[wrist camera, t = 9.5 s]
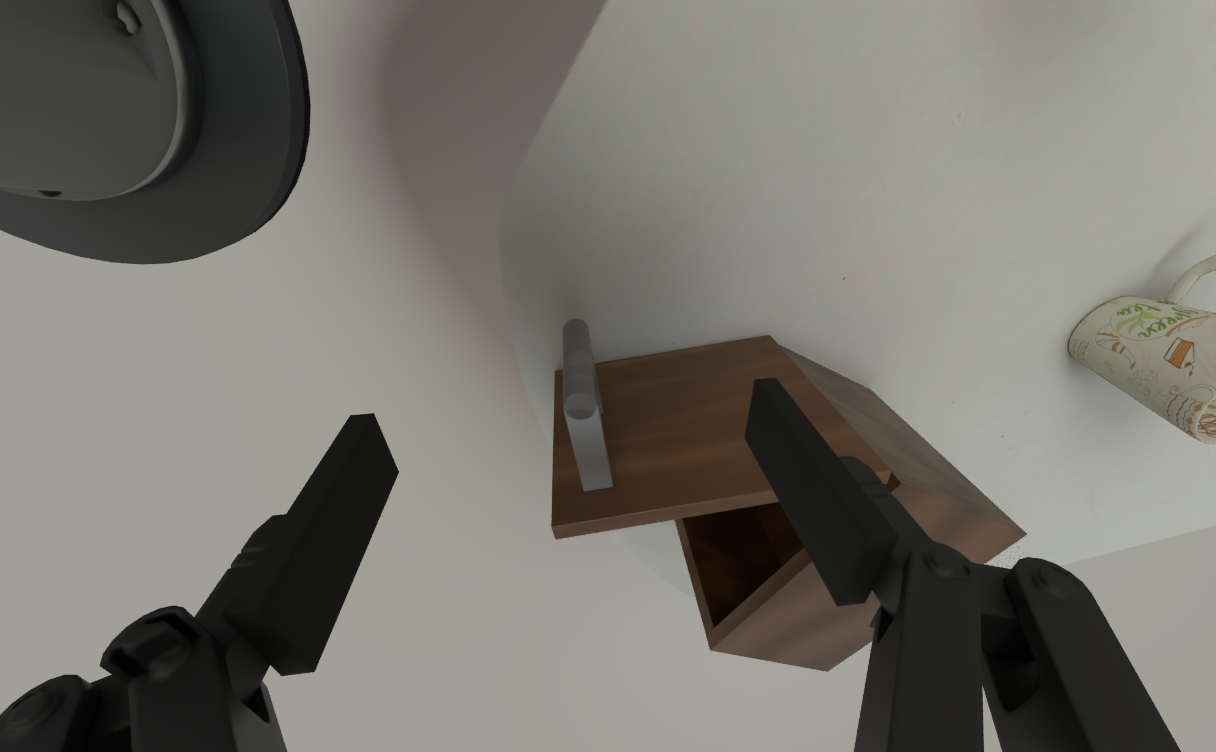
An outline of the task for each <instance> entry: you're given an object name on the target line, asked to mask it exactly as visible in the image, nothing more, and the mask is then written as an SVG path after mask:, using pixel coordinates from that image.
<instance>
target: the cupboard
mask: <svg viewBox="0 0 1216 752" xmlns="http://www.w3.org/2000/svg"><path fill="white" fill-rule="evenodd" d="M779 346H780V345H779ZM780 347H781V348H782V349H783V350H784V352H785V353H786V354H787V355H788V356H789V357H790V358H791V359H792V360H793V362H794V363H795V364H796V365H797V366H798V367H799V368H800V369H801V370H802V371H803V373H804V374H805V375H806V376H807V377H808V378H809V379H810V380H811V381H812V383H813V384H814V385H815V386H816V387H817V388H818V389H819V390H820V391H821V393H822V394H823V395H824V396H825V397H826V398H827V399H828V400H829V401H830V402H831V404H832V405H833V406H834V407H835V408H836V409H837V410H838V411H839V412H840V414H841V415H842V416H843V417H844V418H845V419H846V420H847V421H848V422H849V423H850V425H851V426H852V427H853V428H854V429H855V430H856V431H857V432H858V433H859V435H860V436H861V437H862V438H863V439H864V440H865V441H866V442H867V443H868V444H869V446H870V447H871V448H872V449H873V450H874V451H875V452H876V453H877V454H878V456H879V457H880V458H881V459H882V460H883V461H884V462H885V463H886V464H887V466H888V467H889V468H890V469H891V473H890V477H889V480H888V483H887V484H885V485H886V487H887V488H888V489H889V490H890V491H891V494H892V495H894V496H895V497H896V498H897V500H898V501H899V502H900V503H901V504H902V505H903V507H904V508H905V509H906V510H907V511H908V513H909V514H910V515H911V516H912V517H913V518H914V520H915V521H916V522H917V523H918V524H919V526H920V527H921V528H922V529H923V530H924V531H925V533H926V534H927V535H928V536H929V537H930V538H931V539H932V540H933V541H935V542H938V543H942V544H946V545H948V546H949V547H951V548H953V549H955V550H957V551H959V552H960V553H961V554H962V555H964V556H965V557H966V558H967V559H969V560H970V562H973V563H978V564H985V563H986V562H988V561H989V560H991V559H992V558H993V557H995V556H996V555H998V554H999V553H1001V552H1002V551H1004V550H1005V549H1007V548H1008V547H1009V546H1011V545H1012V544H1014V543H1015V542H1017V541H1018V540H1020V539H1021V538H1023V537H1024V536H1026V535H1027V533H1025V532H1024V531H1023V530H1022V529H1021V528H1020V527H1019V526H1018V525H1017V524H1016V523H1015V522H1014V521H1012V520H1011V519H1010V518H1009V517H1008V516H1007V515H1006V514H1005V513H1004V512H1003V511H1002V510H1001V509H999V508H998V507H997V506H996V505H995V504H994V503H993V502H992V501H991V500H990V499H989V498H988V497H986V496H985V495H984V494H983V493H982V492H981V491H980V490H979V489H978V488H977V487H976V486H974V485H973V484H972V483H971V482H970V481H969V480H968V479H967V478H966V477H965V476H964V475H963V474H961V473H960V472H959V471H958V470H957V469H956V468H955V467H954V466H953V465H952V464H951V463H950V462H948V461H947V460H946V459H945V458H944V457H943V456H942V455H941V454H940V453H939V452H938V451H937V450H935V449H934V448H933V447H932V446H931V445H930V444H929V443H928V442H927V441H926V440H925V439H924V438H922V437H921V436H920V435H919V434H918V433H917V432H916V431H915V430H914V429H913V428H912V427H910V426H909V425H908V424H907V423H906V422H905V421H904V420H903V419H902V418H901V417H900V416H899V415H897V414H896V413H895V412H894V411H893V410H892V409H891V408H890V407H889V406H888V405H887V404H886V403H884V402H883V401H882V400H881V399H880V398H879V397H878V396H877V395H876V394H875V393H874V392H873V391H871V390H870V389H868V388H866V387H864V386H861V385H859V384H857V383H855V382H853V381H851V380H849V379H847V378H845V377H843V376H841V375H839V374H837V373H835V372H833V371H831V370H829V369H827V368H825V367H823V366H821V365H819V364H817V363H815V362H813V361H811V360H809V359H807V358H805V357H803V356H801V355H798V354H796V353H794V352H792V351H790V350H788V349H786V348H784V347H782V346H780ZM675 523H676V527H677V530H678V534H679V537H680V541H681V545H682V548H683V552H684V556H685V559H686V563H687V567H688V570H689V574H690V578H691V581H692V585H693V589H694V592H695V596H696V600H697V603H698V607H699V611H700V614H701V618H702V622H703V625H704V629H705V633H706V637H707V641H708V644H709V648H710V650H712V651H717V652H723V653H728V654H733V655H739V656H744V657H750V658H755V659H761V660H766V661H773V662H778V663H783V664H788V665H794V666H800V667H805V668H811V669H816V670H821V671H829V670H831V669H832V668H833V667H835V666H836V665H838V664H839V663H841V662H842V661H844V660H845V659H846V658H848V657H849V656H851V655H852V654H854V653H855V652H857V651H858V650H860V649H861V648H863V647H864V646H865V645H867V644H868V643H870V642H871V641H873V635H874V630H875V627H874V629H873V628H871V627H869V625H870V623H871V621H872V619H873V617H874V616H875V614H876V612H877V610H878V609H879V607H880V605H881V603H880V601H879V600H878V598H877V597H876V595H875V594H874V592H873V590H872V591H871V593H870V595H869V597H868V599H867V601H866V603H863V604H855V605H847V606H839V607H837V606H836V604H835V602H834V600H833V599H832V597H831V595H830V593H829V591H828V589H827V588H826V586H825V584H824V582H823V580H822V579H821V577H820V575H819V573H818V571H817V569H816V568H815V566H814V564H813V562H812V560H811V559H810V557H809V555H808V553H807V551H806V549H805V548H804V546H803V544H802V542H801V540H800V539H799V537H798V535H797V533H796V531H795V529H794V528H793V526H792V524H791V522H790V520H789V519H788V517H787V515H786V513H785V511H784V509H783V508H782V506H781V504H780V502H775V503H769V504H763V505H757V506H752V507H746V508H740V509H734V510H728V511H722V512H716V513H710V514H704V515H698V516H692V517H686V518H680V519H675Z"/></svg>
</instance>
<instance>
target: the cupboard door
mask: <svg viewBox="0 0 1216 752" xmlns="http://www.w3.org/2000/svg"><path fill="white" fill-rule="evenodd" d="M774 377H776V378H777V380H778V381H779V382H780V383H781V385H782V386H783V387H784V389H785V390H786V391H787V392H788V394H789V395H790V396H791V398H792V399H793V400H794V401H795V403H796V404H797V405H798V406H799V408H800V409H801V410H802V412H803V413H804V414H805V415H806V417H807V418H808V419H809V421H810V422H811V423H812V424H813V426H814V427H815V428H816V429H817V431H818V432H819V433H820V435H821V436H822V437H823V438H824V440H825V441H826V442H827V444H828V445H829V446H830V447H831V449H832V450H833V451H834V452H835V454H836V455H837V456H838V457H841V456H851V455H853V456H855V457H856V458H858V459H859V460H860V461H862V462H863V463H865V464H866V465H868V466H869V467H870V468H871V469H872V470H873V471H874V472H875V474H876V475H877V476H878V477H879V478H880V479H881V481H882V484H887V483H888V480H889V477H890V473H891V469H890V468H889V467H888V466H887V464H886V463H885V462H884V461H883V460H882V459H881V458H880V457H879V456H878V454H877V453H876V452H875V451H874V450H873V449H872V448H871V447H870V446H869V444H868V443H867V442H866V441H865V440H864V439H863V438H862V437H861V436H860V435H859V433H858V432H857V431H856V430H855V429H854V428H853V427H852V426H851V425H850V423H849V422H848V421H847V420H846V419H845V418H844V417H843V416H842V415H841V414H840V412H839V411H838V410H837V409H836V408H835V407H834V406H833V405H832V404H831V402H830V401H829V400H828V399H827V398H826V397H825V396H824V395H823V394H822V393H821V391H820V390H819V389H818V388H817V387H816V386H815V385H814V384H813V383H812V381H811V380H810V379H809V378H808V377H807V376H806V375H805V374H804V373H803V371H802V370H801V369H800V368H799V367H798V366H797V365H796V364H795V363H794V362H793V360H792V359H791V358H790V357H789V356H788V355H787V354H786V353H785V352H784V350H783V349H782V348H781V347H780V346H779V345H778V344H777V343H776V342H775V341H774V339H773V338H772V337H771V336H770V335H769V336H763V337H757V338H751V339H745V340H739V341H733V342H727V343H721V344H715V345H709V346H703V347H697V348H691V349H685V350H679V351H673V352H667V353H661V354H655V355H649V356H643V357H637V358H631V359H625V360H619V361H613V362H607V363H601V364H595V361H594V356H593V350H592V345H591V339H590V334H589V328H588V326H587V324H586V323H585V322H584V321H582V320H580V319H572V320H569V321H568V322H566V323H565V325H564V327H563V370H559V371H555V392H554V436H553V480H552V523H551V527H552V531H553V533H554V536H555V539H562V538H567V537H574V536H579V535H585V534H591V533H597V532H602V531H609V530H615V529H621V528H627V527H633V526H639V525H645V524H651V523H657V522H663V521H668V520H674V519H680V518H686V517H692V516H698V515H704V514H710V513H716V512H722V511H728V510H734V509H740V508H746V507H752V506H757V505H763V504H769V503H775V502H779V500H778V499H777V497H776V495H775V493H774V491H773V489H772V488H771V486H770V484H769V482H768V480H767V479H766V477H765V475H764V473H763V471H762V469H761V468H760V466H759V464H758V462H757V460H756V459H755V457H754V455H753V453H752V451H751V449H750V448H749V446H748V444H747V442H746V440H745V439H744V437H745V431H746V426H747V420H748V414H749V409H750V403H751V397H752V392H753V386H754V380H755V379H763V378H774Z"/></svg>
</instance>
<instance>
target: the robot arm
mask: <svg viewBox="0 0 1216 752" xmlns="http://www.w3.org/2000/svg"><path fill="white" fill-rule="evenodd" d="M203 111H204V89H203V79H202V72H201V66H200V61H199V57H198V53H197V49H196V45H195V42H194V39H193V36H192V33H191V30H190V27H189V25H188V22H187V20H186V17H185V15H184V12H183V10H182V7H181V5H180V3H179V1H178V0H0V190H1V191H5V192H9V193H14V194H19V195H24V196H31V197H37V198H46V199H55V200H68V201H90V200H98V199H105V198H110V197H115V196H120V195H125V194H130V193H134V192H138V191H142V190H145V189H148V188H151V187H153V186H156V185H158V184H159V183H161V182H163V181H165V180H167V179H168V178H169V177H171V176H172V175H173V174H174V173H176V172H177V171H178V170H179V169H180V168H181V167H182V165H183V164H184V163H185V162H186V160H187V159H188V157H189V156H190V155H191V153H192V151H193V149H194V147H195V145H196V143H197V140H198V136H199V133H200V130H201V125H202V120H203ZM744 439H745V440H746V442H747V444H748V446H749V448H750V449H751V451H752V453H753V455H754V457H755V459H756V460H757V462H758V464H759V466H760V468H761V469H762V471H763V473H764V475H765V477H766V479H767V480H768V482H769V484H770V486H771V488H772V489H773V491H774V493H775V495H776V497H777V499H778V500H779V502H780V504H781V506H782V508H783V509H784V511H785V513H786V515H787V517H788V519H789V520H790V522H791V524H792V526H793V528H794V529H795V531H796V533H797V535H798V537H799V539H800V540H801V542H802V544H803V546H804V548H805V549H806V551H807V553H808V555H809V557H810V559H811V560H812V562H813V564H814V566H815V568H816V569H817V571H818V573H819V575H820V577H821V579H822V580H823V582H824V584H825V586H826V588H827V589H828V591H829V593H830V595H831V597H832V599H833V600H834V602H835V604H836V606H837V607H839V606H847V605H855V604H863V603H866V601H867V599H868V597H869V595H870V593H871V591H872V590H873V592H874V594H875V595H876V597H877V598H878V600H879V601H880V603H881V605H880V607H879V609H878V610H877V612H876V614H875V616H874V617H873V619H872V621H871V623H870V625H869V627H871V628H873V629H874V627H875V630H874V635H873V641H872V647H871V653H870V659H869V665H868V671H867V678H866V683H865V689H864V695H863V701H862V706H861V712H860V718H859V724H858V730H857V736H856V742H855V748H854V752H984V738H983V699H982V698H983V694H982V685H983V688H984V691H985V695H986V698H987V701H988V705H989V708H990V712H991V714H992V718H993V722H994V725H995V728H996V732H997V735H998V738H999V742H1000V745H1001V749H1002V752H1181V751H1180V749H1179V747H1178V746H1177V744H1176V742H1175V740H1174V738H1173V737H1172V735H1171V733H1170V731H1169V730H1168V728H1167V726H1166V724H1165V723H1164V721H1163V719H1162V717H1161V716H1160V714H1159V712H1158V710H1157V708H1156V707H1155V705H1154V703H1153V701H1152V699H1151V698H1150V696H1149V695H1148V693H1147V691H1146V689H1145V687H1144V685H1143V684H1142V682H1141V680H1140V678H1139V676H1138V675H1137V673H1136V672H1135V669H1134V668H1133V666H1132V664H1131V662H1130V661H1129V659H1128V657H1127V655H1126V653H1125V652H1124V650H1123V648H1122V646H1121V645H1120V643H1119V641H1118V639H1117V638H1116V636H1115V634H1114V632H1113V630H1112V629H1111V627H1110V625H1109V623H1108V622H1107V620H1106V618H1105V616H1104V615H1103V613H1102V611H1101V609H1100V607H1099V606H1098V604H1097V602H1096V600H1095V599H1094V597H1093V595H1092V593H1091V592H1090V591H1089V590H1088V588H1087V587H1086V586H1085V585H1084V584H1083V582H1082V581H1080V580H1079V579H1078V578H1077V577H1075V576H1074V575H1073V574H1072V573H1070V572H1069V571H1067V570H1065V569H1064V568H1062V567H1060V566H1058V565H1057V564H1054V563H1052V562H1049V561H1046V560H1043V559H1039V558H1030V557H1027V558H1023V559H1020V560H1018V562H1017V563H1016V564H1015V565H1014V567H1013V568H1012V569H1007V568H1001V567H995V566H990V565H984V564H978V563H973V562H970V560H969V559H967V558H966V557H965V556H964V555H962V554H961V553H960V552H959V551H957V550H955V549H953V548H951V547H949V546H948V545H946V544H942V543H938V542H935V541H933V540H932V539H931V538H930V537H929V536H928V535H927V534H926V533H925V531H924V530H923V529H922V528H921V527H920V526H919V524H918V523H917V522H916V521H915V520H914V518H913V517H912V516H911V515H910V514H909V513H908V511H907V510H906V509H905V508H904V507H903V505H902V504H901V503H900V502H899V501H898V500H897V498H896V497H895V496H894V495H892V494H891V491H890V490H889V489H888V488H887V487H886V485H885V484H882V481H881V479H880V478H879V477H878V476H877V475H876V474H875V472H874V471H873V470H872V469H871V468H870V467H869V466H868V465H866V464H865V463H863V462H862V461H860V460H859V459H858V458H856V457H855V456H853V455H851V456H841V457H838V456H837V455H836V454H835V452H834V451H833V450H832V449H831V447H830V446H829V445H828V444H827V442H826V441H825V440H824V438H823V437H822V436H821V435H820V433H819V432H818V431H817V429H816V428H815V427H814V426H813V424H812V423H811V422H810V421H809V419H808V418H807V417H806V415H805V414H804V413H803V412H802V410H801V409H800V408H799V406H798V405H797V404H796V403H795V401H794V400H793V399H792V398H791V396H790V395H789V394H788V392H787V391H786V390H785V389H784V387H783V386H782V385H781V383H780V382H779V381H778V380H777V378H776V377H774V378H763V379H755V380H754V386H753V392H752V397H751V403H750V409H749V414H748V420H747V426H746V431H745V437H744ZM398 473H399V471H398V469H397V466H396V464H395V462H394V459H393V457H392V455H391V452H390V450H389V448H388V445H387V443H386V440H385V438H384V436H383V433H382V431H381V429H380V426H379V425H378V422H377V420H376V417H375V415H374V413H372V414H360V415H350V417H349V418H348V420H347V421H346V423H345V424H344V426H343V427H342V429H341V431H340V432H339V434H338V435H337V437H336V438H335V440H334V441H333V443H332V444H331V446H330V447H329V449H328V451H327V452H326V454H325V455H324V457H323V458H322V460H321V461H320V463H319V465H318V466H317V468H316V469H315V471H314V472H313V474H312V475H311V477H310V478H309V480H308V481H307V483H306V484H305V486H304V487H303V489H302V491H301V492H300V494H299V495H298V497H297V498H296V500H295V501H294V503H293V504H292V506H291V507H290V509H289V511H288V512H287V514H284V515H274V516H272V517H271V518H269V519H268V520H267V521H266V522H265V523H264V524H262V525H261V526H260V527H259V528H258V529H257V530H256V531H255V532H254V533H253V534H252V535H251V537H250V538H249V540H248V541H247V543H246V544H245V545H244V547H243V548H242V550H241V554H238V555H237V557H236V558H235V560H234V561H233V563H232V564H231V568H230V569H228V570H227V571H226V573H225V574H224V576H223V577H222V578H221V580H220V581H219V583H218V584H217V586H216V587H215V588H214V590H213V591H212V593H211V594H210V596H209V597H208V598H207V600H206V601H205V603H204V604H203V606H202V607H201V608H200V610H199V611H198V613H197V614H196V616H195V617H193V616H192V615H191V614H190V613H189V612H188V611H187V610H186V609H185V608H183V607H179V606H169V607H165V608H160V609H157V610H155V611H153V612H151V613H149V614H146V615H144V616H142V617H141V618H139V619H138V620H136V621H135V622H133V623H132V624H130V625H129V626H127V627H126V628H125V629H124V630H123V631H122V632H121V633H120V634H119V635H118V636H117V637H115V639H113V641H112V642H111V643H110V645H109V646H108V647H107V649H106V650H105V652H104V653H103V656H102V659H101V662H100V666H101V667H102V668H103V669H105V670H107V671H108V672H109V673H111V674H112V675H110V676H107V677H105V678H102V679H100V680H97V681H94V682H92V683H89V682H87V681H85V680H84V679H82V678H81V677H79V676H78V675H62V676H59V677H56V678H53V679H50V680H48V681H46V682H44V683H42V684H40V685H38V686H37V687H35V688H33V689H31V690H30V691H28V692H27V693H25V694H24V695H23V696H21V697H20V698H19V699H17V700H16V701H15V702H13V703H12V704H11V705H10V706H9V707H8V708H7V709H6V710H5V711H4V712H3V713H2V714H1V715H0V752H287V749H286V746H285V743H284V740H283V737H282V734H281V730H280V727H279V724H278V720H277V717H276V714H275V711H274V708H273V704H272V701H271V698H270V695H269V692H268V688H267V687H266V685H265V684H264V683H263V682H262V680H263V678H264V676H265V674H266V672H267V670H268V668H269V666H270V665H271V666H272V667H273V668H274V669H275V670H276V671H277V672H278V673H279V674H280V675H281V676H286V675H294V674H302V673H310V672H315V670H316V667H317V665H318V663H319V660H320V658H321V655H322V653H323V651H324V648H325V646H326V643H327V641H328V639H329V637H330V634H331V632H332V629H333V627H334V625H335V622H336V620H337V618H338V615H339V613H340V610H341V608H342V606H343V603H344V601H345V599H346V596H347V594H348V591H349V589H350V587H351V584H352V582H353V579H354V577H355V575H356V573H357V570H358V568H359V565H360V563H361V561H362V558H363V556H364V554H365V551H366V549H367V546H368V544H369V542H370V539H371V537H372V534H373V532H374V530H375V528H376V525H377V523H378V520H379V518H380V516H381V513H382V511H383V509H384V506H385V504H386V501H387V499H388V497H389V494H390V492H391V490H392V487H393V485H394V483H395V480H396V478H397V475H398Z"/></svg>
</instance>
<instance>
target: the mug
mask: <svg viewBox="0 0 1216 752" xmlns="http://www.w3.org/2000/svg"><path fill="white" fill-rule="evenodd" d="M1214 270H1216V255H1214V256H1212V257H1210V258H1208V259H1206V260H1204V261H1202V262H1200V263H1198V264H1196V265H1194V266H1193V267H1191V268H1190V269H1188V270H1187V271H1186V272H1185V273H1184V274H1183V275H1182V276H1181V277H1180V278H1179V279H1178V280H1177V282H1176V283H1175V284H1174V286H1173V287H1172V289H1171V290H1170V292H1169V293H1168V295H1167V297H1166V298H1165V301H1164V302H1160V301H1155V300H1151V299H1146V298H1141V297H1134V296H1127V297H1121V298H1117V299H1114V300H1112V301H1109V302H1107V303H1105V304H1103V305H1102V306H1100V307H1098V308H1097V309H1095V310H1094V311H1093V312H1091V313H1090V314H1089V315H1088V316H1087V317H1085V318H1084V319H1083V320H1082V321H1081V323H1080V324H1079V325H1078V326H1077V327H1076V329H1075V330H1074V332H1073V334H1072V336H1071V338H1070V341H1069V346H1068V348H1069V352H1070V354H1071V356H1072V357H1073V358H1075V359H1076V360H1077V361H1079V362H1080V363H1082V364H1083V365H1085V366H1086V367H1088V368H1089V369H1091V370H1092V371H1094V372H1095V373H1097V374H1098V375H1100V376H1101V377H1103V378H1104V379H1106V380H1107V381H1109V382H1110V383H1112V384H1113V385H1115V386H1116V387H1118V388H1119V389H1121V390H1122V391H1124V392H1125V393H1127V394H1128V395H1130V396H1131V397H1133V398H1134V399H1136V400H1137V401H1139V402H1140V403H1142V404H1143V405H1144V406H1146V407H1147V408H1149V409H1150V410H1152V411H1153V412H1155V413H1156V414H1158V415H1159V416H1161V417H1162V418H1164V419H1165V420H1167V421H1168V422H1170V423H1171V424H1173V425H1174V426H1176V427H1177V428H1179V429H1180V430H1182V431H1183V432H1185V433H1186V434H1188V435H1190V436H1191V437H1193V438H1195V439H1197V440H1199V441H1201V442H1204V443H1208V444H1216V313H1213V312H1208V311H1203V310H1198V309H1193V308H1189V307H1184V306H1179V305H1176V304H1177V303H1178V302H1179V301H1180V300H1181V299H1182V298H1183V297H1184V296H1185V295H1186V294H1187V293H1188V291H1189V290H1190V289H1191V288H1192V287H1193V285H1194V284H1195V283H1196V282H1197V280H1198V279H1199V278H1200V277H1201V276H1203V275H1205V274H1207V273H1209V272H1212V271H1214Z"/></svg>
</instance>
